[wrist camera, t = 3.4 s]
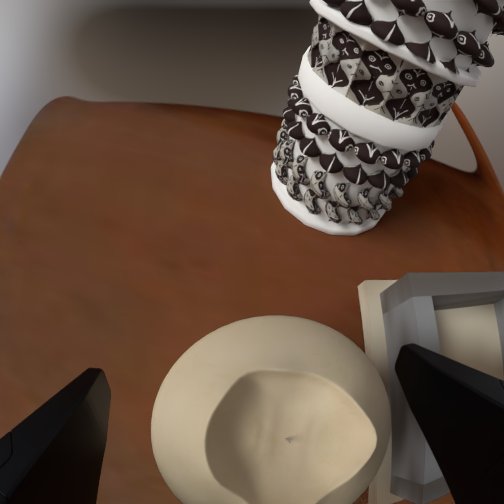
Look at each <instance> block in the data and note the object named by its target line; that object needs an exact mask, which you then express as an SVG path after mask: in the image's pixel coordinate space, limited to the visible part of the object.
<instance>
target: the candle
mask: <svg viewBox="0 0 504 504" xmlns="http://www.w3.org/2000/svg"><path fill="white" fill-rule="evenodd" d="M390 426H391V419H390V407H389V401H388V396H387V393H386V390H385V386H384V384H383V381H382V379H381V377H380V375H379V373H378V371H377V370H376V368H375V366H374V365H373V363H372V362H371V360H370V359H369V358H368V357H367V356H366V354H365V353H364V352H363V351H362V350H361V349H360V348H359V347H358V346H357V345H356V344H355V343H354V342H352V341H351V340H350V339H348V338H347V337H346V336H344V335H343V334H341V333H340V332H338V331H336V330H334V329H332V328H330V327H328V326H326V325H324V324H321V323H318V322H316V321H313V320H308V319H304V318H300V317H293V316H284V315H267V316H260V317H252V318H248V319H244V320H240V321H236V322H234V323H231V324H228V325H226V326H223V327H221V328H219V329H217V330H215V331H213V332H211V333H210V334H208V335H206V336H205V337H203V338H202V339H201V340H199V341H198V342H196V343H195V344H194V345H192V346H191V347H190V348H189V349H188V350H187V351H186V352H185V353H184V354H183V355H182V356H181V357H180V358H179V359H178V361H177V362H176V363H175V364H174V365H173V367H172V368H171V370H170V371H169V373H168V374H167V376H166V377H165V379H164V381H163V383H162V385H161V387H160V390H159V392H158V394H157V397H156V401H155V404H154V408H153V414H152V421H151V441H152V447H153V452H154V456H155V459H156V462H157V465H158V468H159V471H160V473H161V475H162V477H163V478H164V480H165V482H166V484H167V485H168V487H169V488H170V489H171V491H172V492H173V494H174V495H175V496H176V497H177V498H178V499H179V500H180V501H181V502H182V503H183V504H353V503H354V502H355V501H356V500H357V499H358V498H359V497H360V496H361V495H362V494H363V492H364V491H365V490H366V489H367V488H368V486H369V485H370V483H371V482H372V480H373V479H374V478H375V476H376V474H377V472H378V470H379V468H380V466H381V464H382V461H383V459H384V456H385V454H386V450H387V446H388V442H389V436H390Z"/></svg>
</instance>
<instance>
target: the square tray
mask: <svg viewBox="0 0 504 504" xmlns="http://www.w3.org/2000/svg"><path fill="white" fill-rule="evenodd" d="M358 292H359V300H360V308H361V316H362V324H363V333H364V343H365V354H366V356H367V357H368V358H369V359H370V360H371V362H372V363H373V365H374V366H375V368H376V370H377V371H378V373H379V375H380V377H381V379H382V381H383V384H384V386H385V390H386V393H387V396H388V401H389V407H390V419H391V426H390V436H389V442H388V446H387V450H386V454H385V456H384V459H383V461H382V464H381V466H380V468H379V470H378V472H377V474H376V476H375V478H374V479H373V480H372V482H371V483H370V485H369V496H368V504H392V503H395V502H398V501H401V500H404V499H406V500H408V501H411V502H413V503H416V504H427V503H429V502H431V501H434V500H436V499H438V498H440V497H442V496H444V495H446V494H448V493H450V490H449V488H448V485H447V483H446V481H445V479H444V477H443V474H442V472H441V470H440V468H439V466H438V464H437V462H436V459H435V457H434V455H433V453H432V451H431V449H430V447H429V445H428V443H427V441H426V439H425V437H424V435H423V433H422V431H421V429H420V427H419V425H418V423H417V421H416V419H415V417H414V415H413V413H412V411H411V409H410V407H409V405H408V402H407V400H406V397H405V395H404V392H403V390H402V387H401V385H400V382H399V380H398V377H397V375H396V372H395V363H396V360H397V357H398V354H399V350H400V348H401V347H402V346H403V345H405V344H409V343H415V344H417V345H419V346H422V347H424V348H426V349H429V350H431V351H433V352H436V353H438V354H440V355H443V356H445V357H448V358H450V359H452V360H455V361H457V362H460V363H462V364H464V365H467V366H469V367H472V368H474V369H476V370H479V371H481V372H484V373H486V374H489V375H491V376H494V377H496V378H498V379H501V380H504V272H441V273H407V274H405V275H404V276H403V277H401V278H400V279H399V280H365V281H363V282H362V283H361V284H360V285H359V286H358Z"/></svg>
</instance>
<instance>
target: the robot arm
mask: <svg viewBox="0 0 504 504" xmlns="http://www.w3.org/2000/svg"><path fill="white" fill-rule="evenodd" d="M395 372H396V375H397V377H398V380H399V382H400V385H401V387H402V390H403V392H404V395H405V397H406V400H407V402H408V405H409V407H410V409H411V411H412V413H413V415H414V417H415V419H416V421H417V423H418V425H419V427H420V429H421V431H422V433H423V435H424V437H425V439H426V441H427V443H428V445H429V447H430V449H431V451H432V453H433V455H434V457H435V459H436V462H437V464H438V466H439V468H440V470H441V472H442V474H443V477H444V479H445V481H446V483H447V485H448V488H449V490H450V492H451V494H452V497H453V499H454V501H455V504H504V380H501V379H498V378H496V377H494V376H491V375H489V374H486V373H484V372H481V371H479V370H476V369H474V368H472V367H469V366H467V365H464V364H462V363H460V362H457V361H455V360H452V359H450V358H448V357H445V356H443V355H440V354H438V353H436V352H433V351H431V350H429V349H426V348H424V347H422V346H419V345H417V344H415V343H409V344H405V345H403V346H402V347H401V348H400V350H399V354H398V357H397V360H396V363H395ZM110 399H111V391H110V387H109V385H108V382H107V379H106V376H105V373H104V371H103V370H102V369H100V368H88V369H87V370H86V371H84V372H83V373H82V374H80V375H79V376H78V377H77V378H75V379H74V380H73V381H72V382H70V383H69V384H68V385H67V386H65V387H64V388H63V389H62V390H60V391H59V392H58V393H57V394H55V395H54V396H53V397H52V398H50V399H49V400H48V401H47V402H45V403H44V404H43V405H42V406H40V407H39V408H38V409H37V410H35V411H34V412H33V413H32V414H31V415H29V416H28V417H27V418H26V419H24V420H23V421H22V422H21V423H19V424H18V425H17V426H16V427H14V428H13V429H12V430H11V432H10V431H9V432H8V433H7V434H6V435H4V436H3V437H2V438H1V439H0V504H96V500H97V493H98V486H99V480H100V474H101V468H102V462H103V457H104V451H105V446H106V440H107V431H108V419H109V409H110Z"/></svg>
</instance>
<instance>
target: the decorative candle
mask: <svg viewBox="0 0 504 504" xmlns="http://www.w3.org/2000/svg"><path fill="white" fill-rule="evenodd" d="M310 4H311V6H312V7H313V8H314V9H315V11H316V12H317V13H318V16H319V19H318V21H317V23H316V26H315V27H314V31H313V34H312V45H311V46H309V48H308V49H307V51H306V52H305V54H304V55H303V59H302V63H301V67H300V71H299V74H297V75H295V76H294V77H293V81H292V83H293V85H291V86H289V88H288V95H289V96H290V98H289V99H288V106H289V107H287V108H285V109H284V111H283V117H284V120H283V122H282V124H281V129H280V130H279V131H278V133H277V147H276V148H275V149H274V152H273V160H274V162H273V164H272V166H271V177H272V187H273V190H274V191H275V193H276V195H277V196H278V198H279V200H280V201H281V203H282V205H283V206H284V208H285V209H286V210H287V211H288V212H290V213H291V214H292V215H293V216H295V217H296V218H297V219H298V220H300V221H301V222H302V223H303V224H304V225H306V226H309V227H311V228H314V229H316V230H319V231H321V232H324V233H327V234H329V235H347V236H355V235H357V234H360V233H362V232H365V231H367V230H369V229H372V228H373V227H374V226H375V225H376V224H377V222H378V221H379V220H380V218H381V217H382V216H383V214H384V213H385V211H389V210H390V209H391V203H392V200H391V199H390V198H389V196H391V197H393V198H396V197H401V196H402V195H403V190H402V188H401V186H403V185H405V184H406V183H408V180H409V179H412V178H414V177H416V175H417V173H418V168H417V167H418V166H419V165H420V164H421V162H422V161H427V160H428V159H429V158H430V157H431V149H432V148H433V146H434V138H435V137H436V135H437V134H438V132H439V131H440V129H441V128H442V126H443V125H444V123H445V121H446V120H447V117H446V114H447V112H448V111H449V109H450V108H451V106H452V105H453V103H454V101H455V100H456V98H457V97H458V95H459V93H460V92H461V90H462V88H463V86H472V87H476V85H477V84H478V82H479V79H480V77H481V72H480V70H479V69H478V67H477V66H484V67H492V66H493V64H494V58H493V56H492V54H491V53H490V51H489V48H488V45H489V44H488V45H487V41H486V40H487V38H488V36H489V34H490V32H491V31H492V34H495V33H496V34H497V35H504V0H310ZM420 149H421V150H420ZM419 150H420V151H419ZM418 151H419V152H418ZM407 167H408V169H407ZM406 169H407V170H406Z"/></svg>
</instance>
